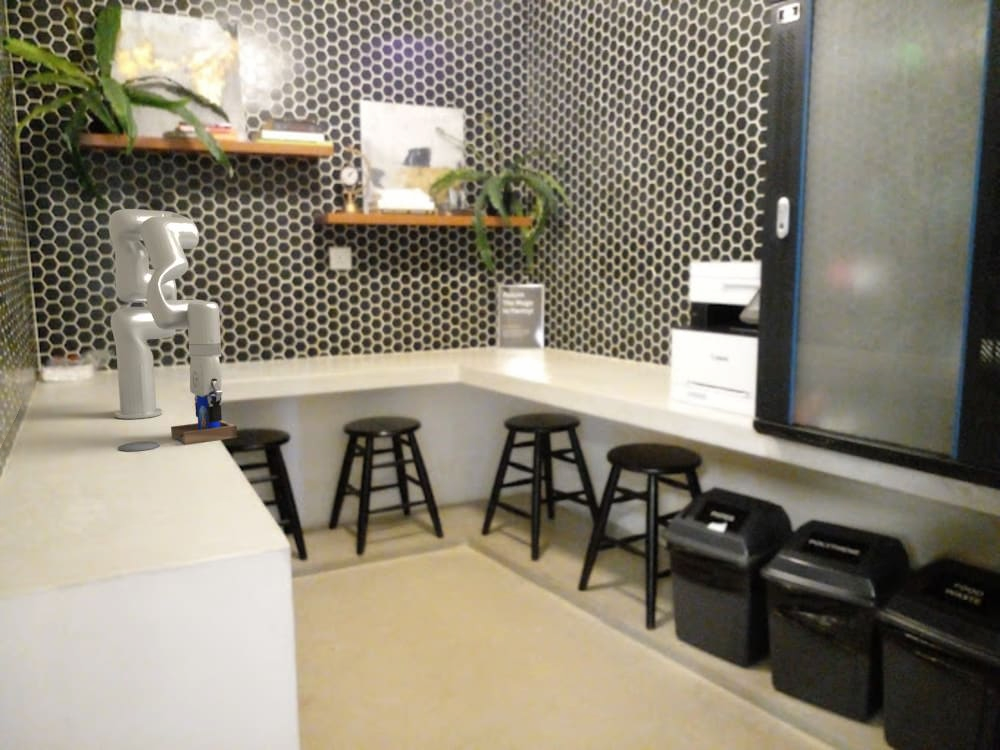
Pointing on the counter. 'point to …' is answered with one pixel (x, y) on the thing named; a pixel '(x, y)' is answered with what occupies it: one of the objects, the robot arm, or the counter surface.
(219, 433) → the brown hollow open frame
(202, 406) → the beverage can
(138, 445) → the pad
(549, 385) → the counter surface
